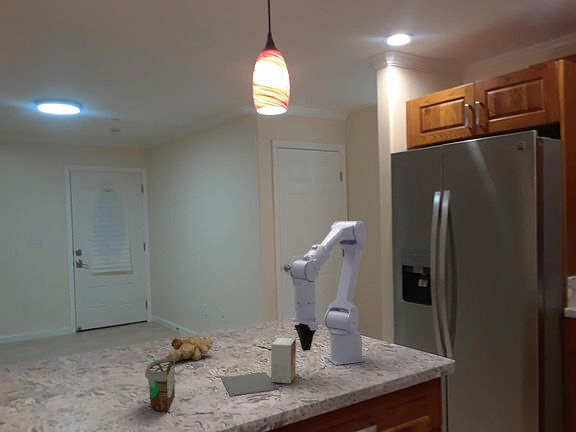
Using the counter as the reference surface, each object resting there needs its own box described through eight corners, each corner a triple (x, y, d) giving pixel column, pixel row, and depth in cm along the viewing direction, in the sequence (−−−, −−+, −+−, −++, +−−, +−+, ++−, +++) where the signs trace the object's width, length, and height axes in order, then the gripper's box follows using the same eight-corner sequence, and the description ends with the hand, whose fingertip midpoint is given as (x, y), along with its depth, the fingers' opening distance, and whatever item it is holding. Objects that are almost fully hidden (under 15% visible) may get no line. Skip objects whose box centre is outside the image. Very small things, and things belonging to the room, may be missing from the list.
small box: (290, 384, 127) (291, 345, 127) (270, 382, 128) (271, 344, 128) (296, 374, 135) (296, 338, 135) (277, 373, 136) (277, 336, 136)
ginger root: (209, 343, 166) (208, 323, 164) (216, 367, 151) (216, 345, 149) (163, 350, 161) (162, 329, 159) (167, 375, 146) (165, 352, 144)
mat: (265, 372, 137) (265, 371, 137) (278, 389, 124) (278, 388, 124) (221, 378, 133) (221, 377, 133) (230, 396, 120) (230, 395, 120)
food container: (151, 396, 122) (150, 358, 122) (175, 395, 122) (174, 356, 122) (140, 416, 109) (139, 374, 109) (167, 415, 110) (166, 372, 110)
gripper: (284, 299, 139) (285, 344, 139) (300, 308, 126) (301, 358, 126) (306, 297, 141) (307, 342, 142) (324, 305, 128) (325, 355, 128)
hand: (306, 349), depth 134 cm, fingers closed
